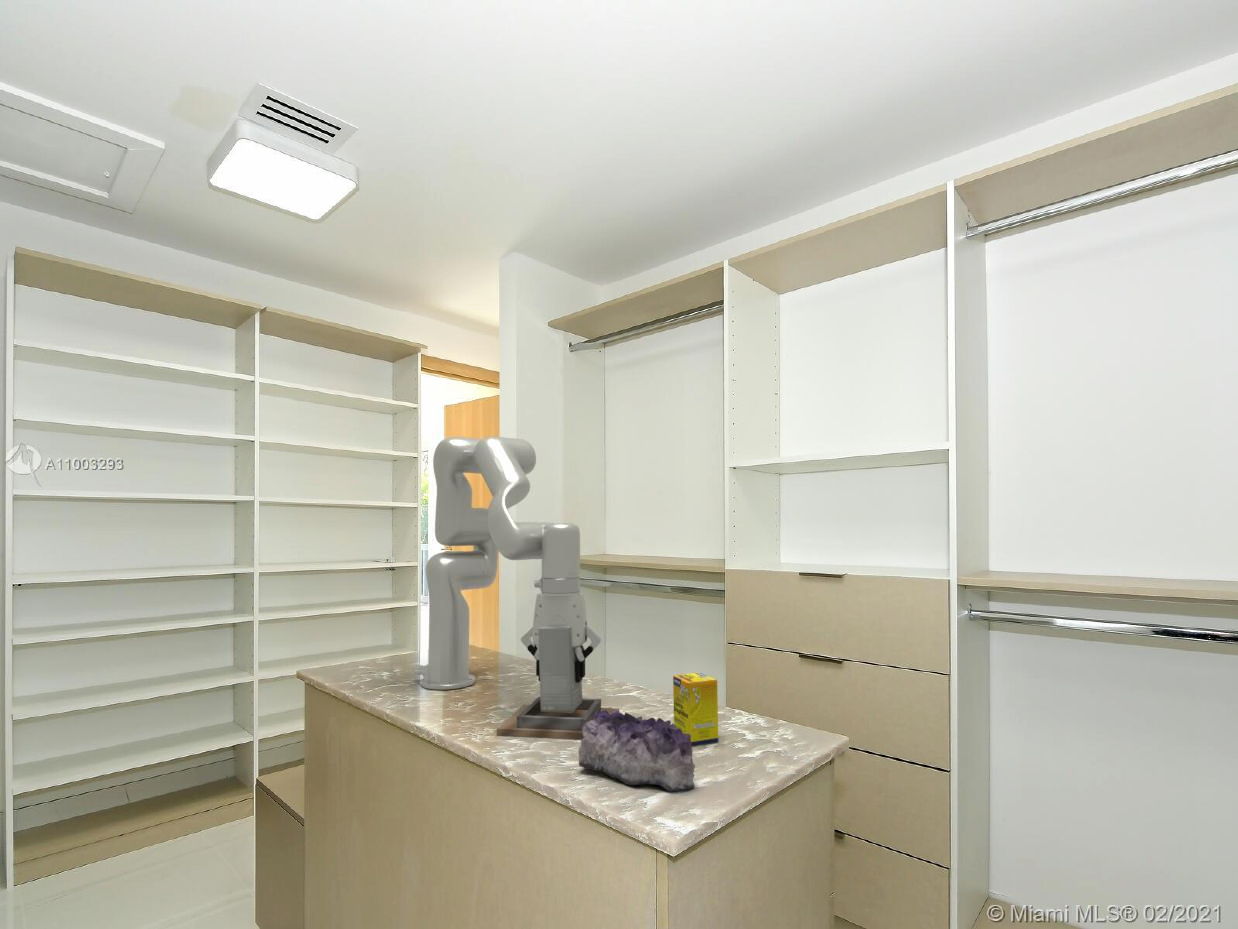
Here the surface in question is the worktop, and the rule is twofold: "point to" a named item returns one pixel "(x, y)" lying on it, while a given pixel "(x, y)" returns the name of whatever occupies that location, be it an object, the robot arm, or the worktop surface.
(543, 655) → the skincare box
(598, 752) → the geode
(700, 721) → the supplement box
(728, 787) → the worktop surface
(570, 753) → the worktop surface
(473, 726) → the worktop surface
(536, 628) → the robot arm
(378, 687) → the worktop surface
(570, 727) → the board
